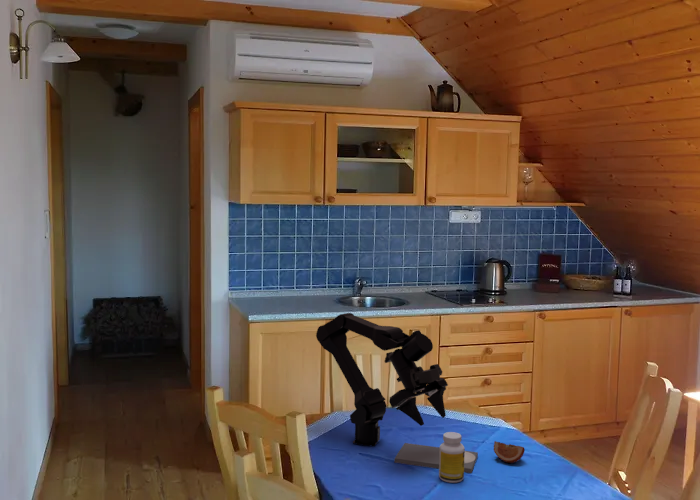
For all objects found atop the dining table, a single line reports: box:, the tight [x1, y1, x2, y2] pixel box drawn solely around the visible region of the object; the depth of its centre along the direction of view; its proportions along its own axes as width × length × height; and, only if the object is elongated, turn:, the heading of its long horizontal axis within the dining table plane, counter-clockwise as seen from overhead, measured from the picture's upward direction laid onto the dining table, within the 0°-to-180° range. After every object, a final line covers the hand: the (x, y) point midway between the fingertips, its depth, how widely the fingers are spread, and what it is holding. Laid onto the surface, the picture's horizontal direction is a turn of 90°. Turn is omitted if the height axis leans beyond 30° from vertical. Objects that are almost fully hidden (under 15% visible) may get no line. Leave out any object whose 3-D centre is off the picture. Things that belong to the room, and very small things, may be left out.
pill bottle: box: [438, 431, 466, 484], centre depth 187 cm, size 6×6×12 cm
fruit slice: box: [493, 440, 525, 464], centre depth 199 cm, size 8×7×5 cm
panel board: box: [393, 442, 479, 474], centre depth 199 cm, size 21×12×1 cm, turn 72°
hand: (433, 421), depth 193 cm, fingers open, 9 cm apart
